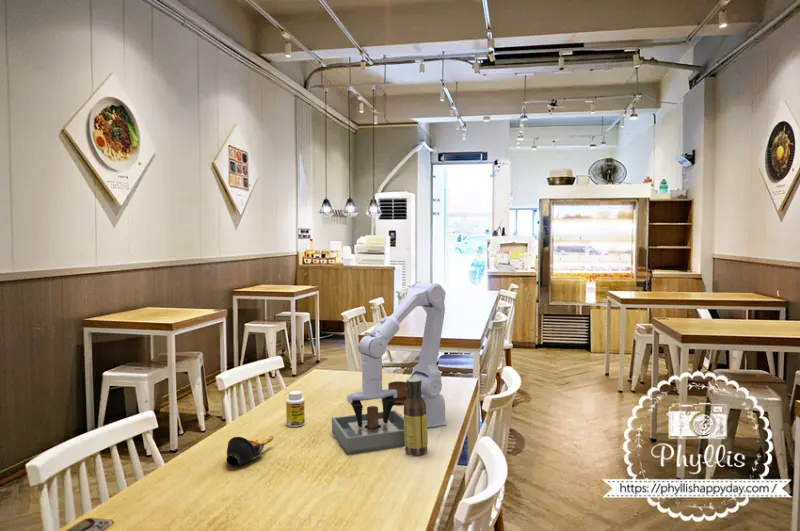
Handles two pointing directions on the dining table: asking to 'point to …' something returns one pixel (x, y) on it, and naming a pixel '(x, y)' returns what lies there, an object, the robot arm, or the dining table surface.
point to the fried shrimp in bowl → (244, 450)
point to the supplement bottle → (295, 409)
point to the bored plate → (358, 431)
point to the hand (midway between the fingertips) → (372, 424)
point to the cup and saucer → (399, 390)
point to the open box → (371, 440)
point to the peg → (372, 417)
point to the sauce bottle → (415, 419)
